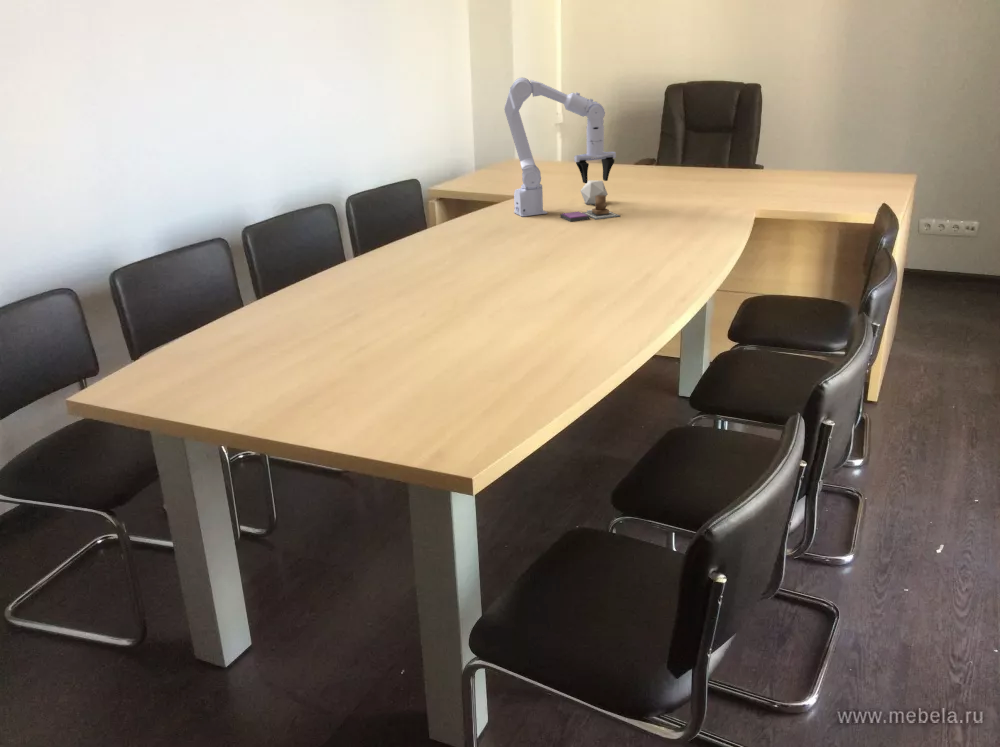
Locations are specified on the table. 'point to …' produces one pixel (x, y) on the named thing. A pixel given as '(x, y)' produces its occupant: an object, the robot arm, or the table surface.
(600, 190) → the die
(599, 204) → the stamp
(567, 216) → the ink pad
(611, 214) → the grey framed plate
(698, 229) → the table surface
